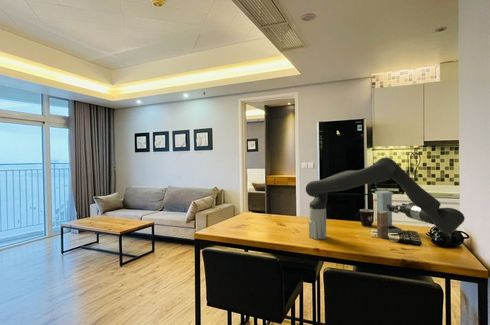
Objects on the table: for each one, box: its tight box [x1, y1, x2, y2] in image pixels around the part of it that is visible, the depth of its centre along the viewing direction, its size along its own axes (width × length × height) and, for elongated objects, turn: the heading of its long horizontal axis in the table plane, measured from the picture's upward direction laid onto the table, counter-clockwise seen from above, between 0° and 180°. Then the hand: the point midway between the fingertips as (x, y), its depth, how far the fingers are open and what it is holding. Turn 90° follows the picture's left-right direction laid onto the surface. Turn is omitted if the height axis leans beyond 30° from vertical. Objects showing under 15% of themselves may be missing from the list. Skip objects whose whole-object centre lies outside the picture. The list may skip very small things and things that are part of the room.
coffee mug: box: [355, 208, 375, 228], centre depth 177 cm, size 12×9×10 cm
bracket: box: [388, 224, 403, 233], centre depth 160 cm, size 8×7×3 cm
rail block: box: [376, 210, 389, 239], centre depth 152 cm, size 4×4×15 cm
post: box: [374, 190, 394, 226], centre depth 166 cm, size 7×7×24 cm
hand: (395, 205), depth 141 cm, fingers open, 8 cm apart
